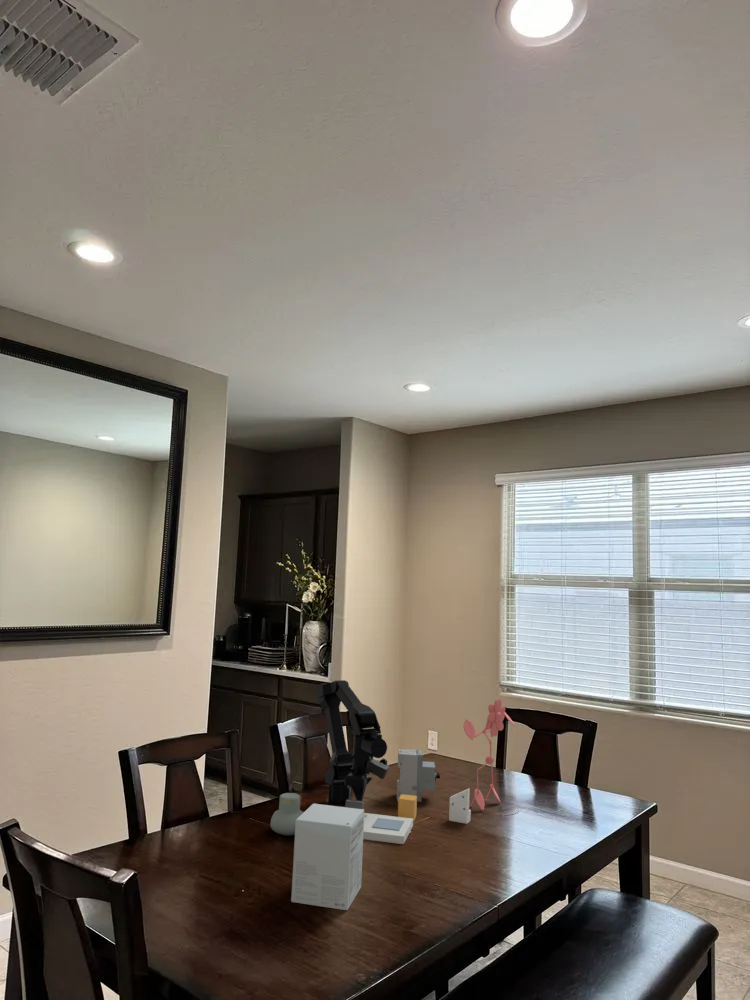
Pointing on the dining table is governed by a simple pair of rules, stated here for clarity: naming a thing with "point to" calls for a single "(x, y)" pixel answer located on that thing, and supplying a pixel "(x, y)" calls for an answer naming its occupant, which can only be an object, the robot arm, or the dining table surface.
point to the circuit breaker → (415, 774)
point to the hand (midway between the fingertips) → (359, 803)
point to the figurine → (494, 725)
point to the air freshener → (286, 814)
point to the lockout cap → (407, 806)
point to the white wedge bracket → (460, 807)
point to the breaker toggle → (354, 804)
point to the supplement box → (328, 856)
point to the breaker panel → (386, 828)
